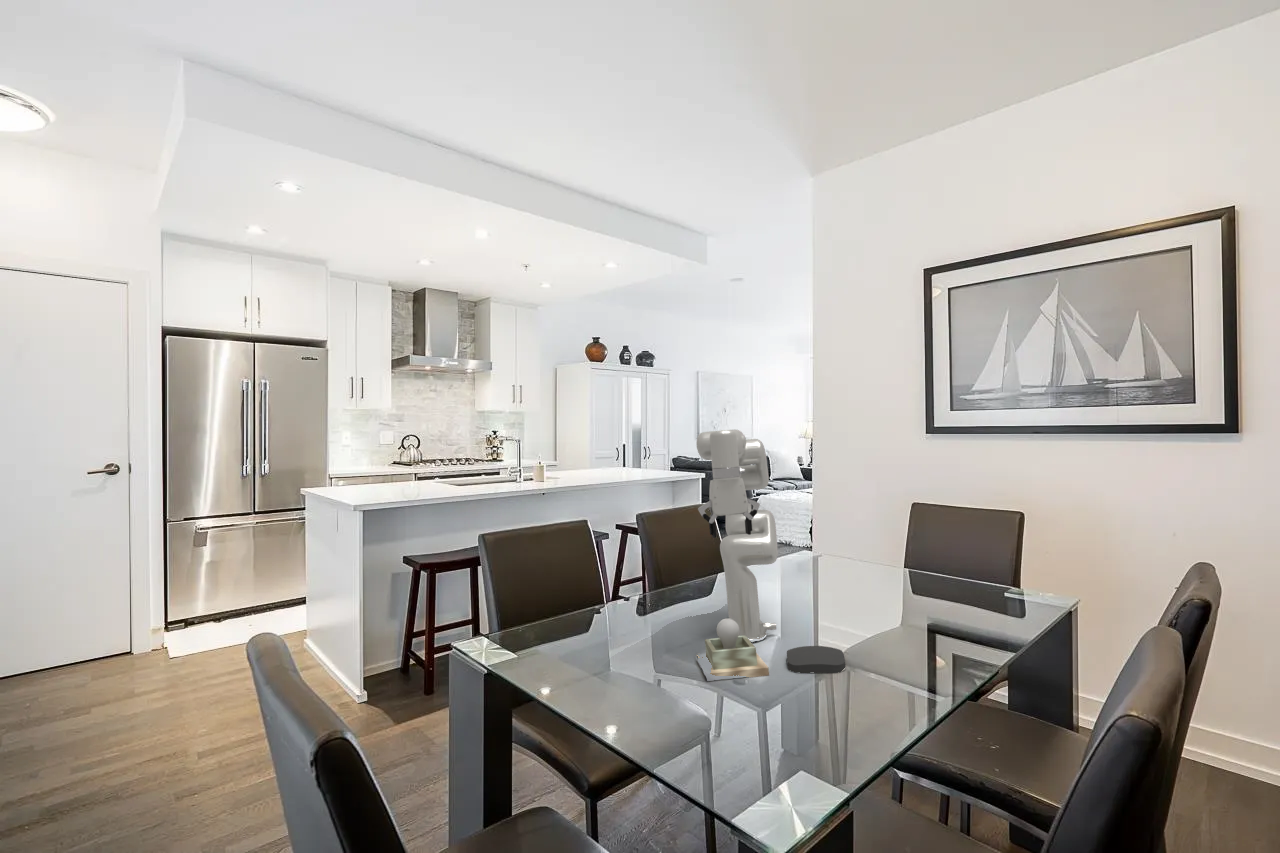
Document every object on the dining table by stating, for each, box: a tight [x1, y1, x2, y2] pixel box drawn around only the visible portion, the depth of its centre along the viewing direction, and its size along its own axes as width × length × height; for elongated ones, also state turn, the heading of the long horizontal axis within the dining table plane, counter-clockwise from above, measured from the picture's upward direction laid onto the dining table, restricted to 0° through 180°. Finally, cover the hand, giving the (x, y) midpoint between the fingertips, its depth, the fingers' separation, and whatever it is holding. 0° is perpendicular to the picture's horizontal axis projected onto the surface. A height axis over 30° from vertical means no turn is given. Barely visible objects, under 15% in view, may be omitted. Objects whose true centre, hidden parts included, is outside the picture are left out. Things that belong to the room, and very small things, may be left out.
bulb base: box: [696, 635, 770, 678], centre depth 166 cm, size 16×16×6 cm
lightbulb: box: [716, 617, 740, 649], centre depth 166 cm, size 6×6×11 cm
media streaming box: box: [786, 645, 847, 674], centre depth 164 cm, size 15×15×3 cm
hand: (731, 535), depth 172 cm, fingers open, 9 cm apart
